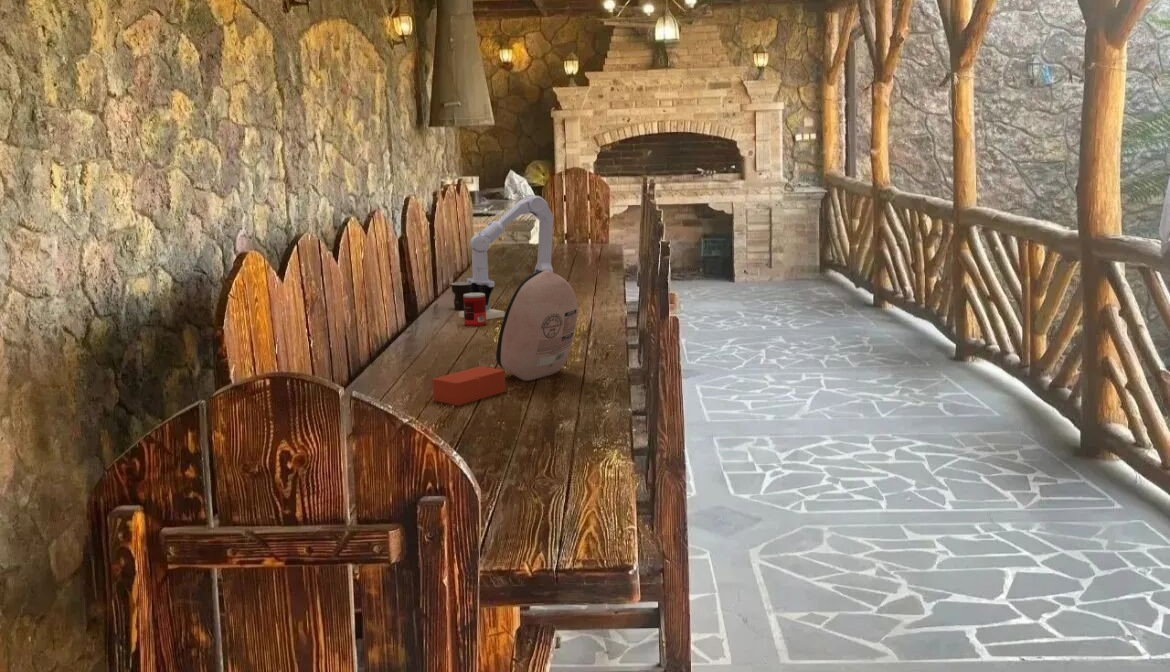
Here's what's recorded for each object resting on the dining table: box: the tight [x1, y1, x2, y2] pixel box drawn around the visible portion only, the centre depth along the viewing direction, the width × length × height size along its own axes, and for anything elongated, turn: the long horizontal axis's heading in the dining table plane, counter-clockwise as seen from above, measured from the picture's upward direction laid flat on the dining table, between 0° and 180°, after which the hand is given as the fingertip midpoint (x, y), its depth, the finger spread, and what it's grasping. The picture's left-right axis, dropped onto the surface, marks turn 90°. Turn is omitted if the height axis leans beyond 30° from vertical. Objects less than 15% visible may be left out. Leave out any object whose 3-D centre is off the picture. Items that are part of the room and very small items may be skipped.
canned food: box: [463, 293, 487, 327], centre depth 376 cm, size 8×8×11 cm
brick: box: [432, 365, 506, 406], centre depth 273 cm, size 18×9×6 cm, turn 143°
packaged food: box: [495, 270, 579, 382], centre depth 291 cm, size 22×20×30 cm
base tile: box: [458, 308, 506, 320], centre depth 393 cm, size 12×12×2 cm
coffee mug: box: [450, 281, 472, 311], centre depth 412 cm, size 12×9×10 cm
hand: (481, 304), depth 392 cm, fingers closed on block, 4 cm apart
